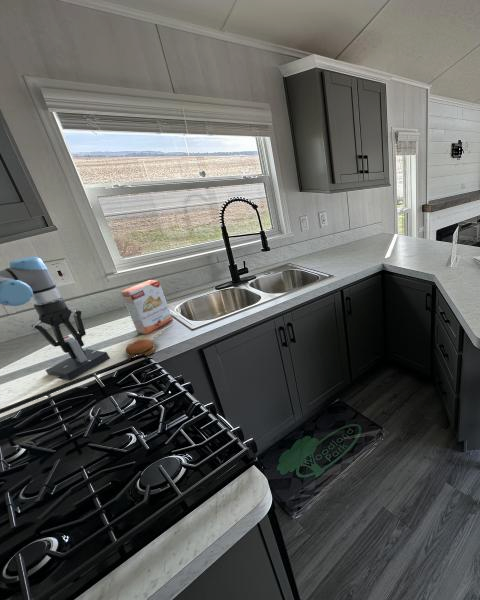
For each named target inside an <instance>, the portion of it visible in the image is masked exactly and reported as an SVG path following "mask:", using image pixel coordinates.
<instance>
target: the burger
mask: <svg viewBox="0 0 480 600" xmlns="http://www.w3.org/2000/svg"><path fill="white" fill-rule="evenodd" d="M154 342H155V341H154V340H152V339H151V338H150V339H149V338H141V339H137V340H135V341H134V342H131V343H130V344H127V345H126V347H125V353H127V354H128V358H129V359H131V358H132V357H134V356H136V355H140V354H148V356H150V355H151V354H153V353H155V352H156V350H157V348H156V346H155V345H154Z"/></svg>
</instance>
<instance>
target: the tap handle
mask: <svg viewBox="0 0 480 600" xmlns="http://www.w3.org/2000/svg"><path fill="white" fill-rule="evenodd" d="M63 338H64V341H65V342H66V343H68V344H69V345H70V347H71V349H72V351H73V352H74V354H75V356H76V358H77V359H75V360H77V361H79V362H81V363H82V362H84V361H86V360H87V358H86V356H85V354H84V352H83V350H84V349H83V350H82V349H81V347H80V345H79V343H78V341H77V340H76V339H75V338H74V337H71V336H69V335H65V336H63Z"/></svg>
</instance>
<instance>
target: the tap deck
mask: <svg viewBox="0 0 480 600" xmlns="http://www.w3.org/2000/svg"><path fill="white" fill-rule="evenodd" d="M83 350H84V352H85V354H86V355H85V356H86V358H87V360H86V361H84V362H82V363H81V362H79V361H77V360H74V359H72V358H71V357H70V356H69V357H68V358H66V359H64V360H62V361H60V362H58V363H57V364H55V365H52V366H50V367H49V368H47V369H45V372H46V373H47V375H48V376H49V375H50V376H55V377H57V379H60V380H65V381H69V382H70V381H72V380H75V379H76V378H78V377H79V376H81V375H84V374H85V373H87V372H89V371H90V370H92V369H94V368H96V367H97V366H99V365H102V364H104V362H106V361H108V360H110V359H111V357H110V356H109V353H108V351H107V352H106V351H101V350H95V349H89V348H86V349H83Z"/></svg>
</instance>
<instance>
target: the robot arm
mask: <svg viewBox="0 0 480 600" xmlns="http://www.w3.org/2000/svg"><path fill="white" fill-rule="evenodd" d="M8 266H9V268H5V269H1V270H0V305H3V306H10V307H19V306H23V305H25V304H27V303H28V302H30V303H31V304H33V309H35V311H36V314H37V315H38V321H37V322H36V323H33V324H32V325H31V327H32V328H34V329H36V330H38V332H39V333H40V334H41V335H42V336H43V337H44V338H45V339H46V341H47V342H48V343H49V344H50V345H51V346H52V347H54V348H56V347H60V349H61V350H62V352H64V353H65V354H67V353H68V355H69V357H71V358H72V359H74V360H75V359H77V358H76V356H75V354H74V352H73V351H72V349H71V347H70V345H69V344H68V343H66V342H65V341H64V338H63V337H64V336H63V333H62V331H61V327H60V326H61V325H62V324H63V325H64V326H65V328H66V329H67V330H68V332H69V333H70V334H71V336H72V338H73V339H76V340H77V341H78V343H79V345H80V347H81V349H82V350H83V352H84V350H85V349H84V348H83V347H84V346H85V343H84V341H83V337H84V336H86V335H87V332H86V329H85V326H84V323H83V320H82V311H81V310H79V309H70V308H69V307H68V305H67V304H66V301H65V300H64V298H63V297H62V294H61V292H60V290H59V289H58V287H57V285H56V284H55V281H54V280H53V277H52V276H51V273H50V272H49V268H47V266H46V265H45V263H44V262H43V260H42V258H40V257H39V256H26V257H25V256H24V257H20V258H15V259H13V260H10V261H9V263H8ZM71 316H73V319H74V322H75V326H76V328H75V327H74V326H73V324H72V322H71V321H70V318H71ZM45 325H49V326H50V327H51V329H52V332H53V334H54V337H55V338H54V337H53V336H52V335H51V334H50V333H49V332H48V331H47V329H46V328H44V327H45ZM76 329H77V330H76ZM55 339H56V340H55ZM84 354H85V352H84ZM85 355H86V354H85Z"/></svg>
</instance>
